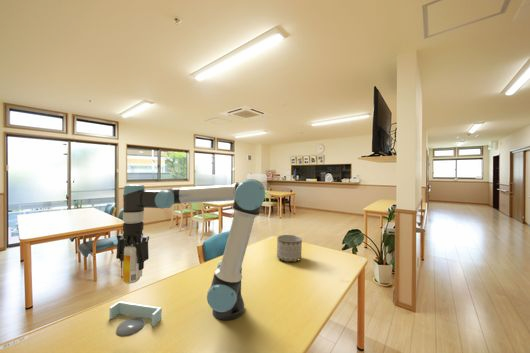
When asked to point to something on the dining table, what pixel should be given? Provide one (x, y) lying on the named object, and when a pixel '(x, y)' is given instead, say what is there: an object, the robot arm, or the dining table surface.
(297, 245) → the planter
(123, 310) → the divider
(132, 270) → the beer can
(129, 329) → the coaster
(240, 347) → the dining table surface
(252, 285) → the dining table surface
